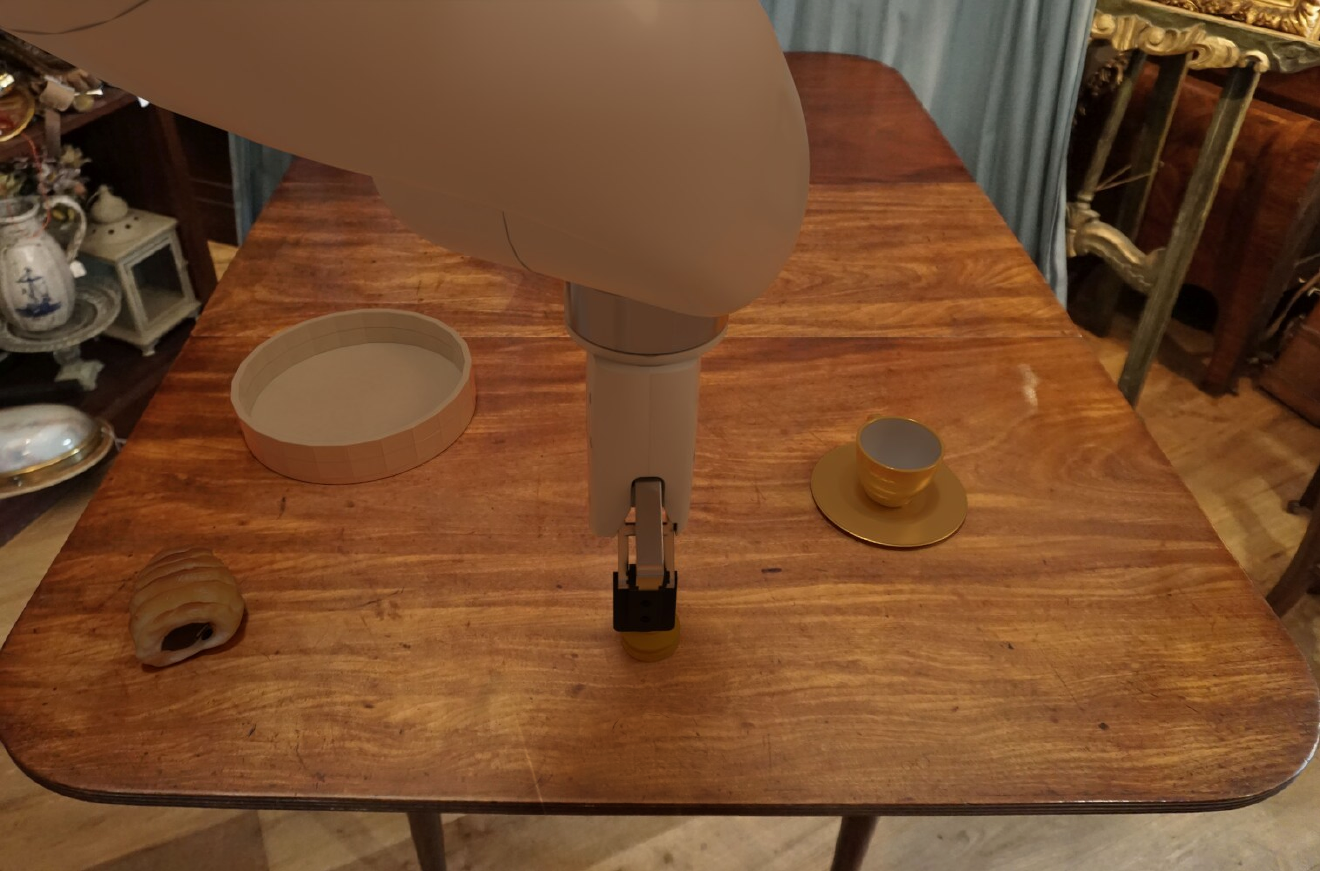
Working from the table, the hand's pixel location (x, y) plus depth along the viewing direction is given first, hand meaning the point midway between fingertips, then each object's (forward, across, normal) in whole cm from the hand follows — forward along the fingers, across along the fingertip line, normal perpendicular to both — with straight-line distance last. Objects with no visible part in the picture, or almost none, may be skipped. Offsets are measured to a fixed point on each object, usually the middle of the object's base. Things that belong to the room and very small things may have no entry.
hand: (640, 559), depth 53 cm
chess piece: (+11, -3, +1) cm, 11 cm away
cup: (+10, -16, +20) cm, 28 cm away
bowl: (+10, -28, -23) cm, 38 cm away
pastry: (+11, -6, -30) cm, 33 cm away
